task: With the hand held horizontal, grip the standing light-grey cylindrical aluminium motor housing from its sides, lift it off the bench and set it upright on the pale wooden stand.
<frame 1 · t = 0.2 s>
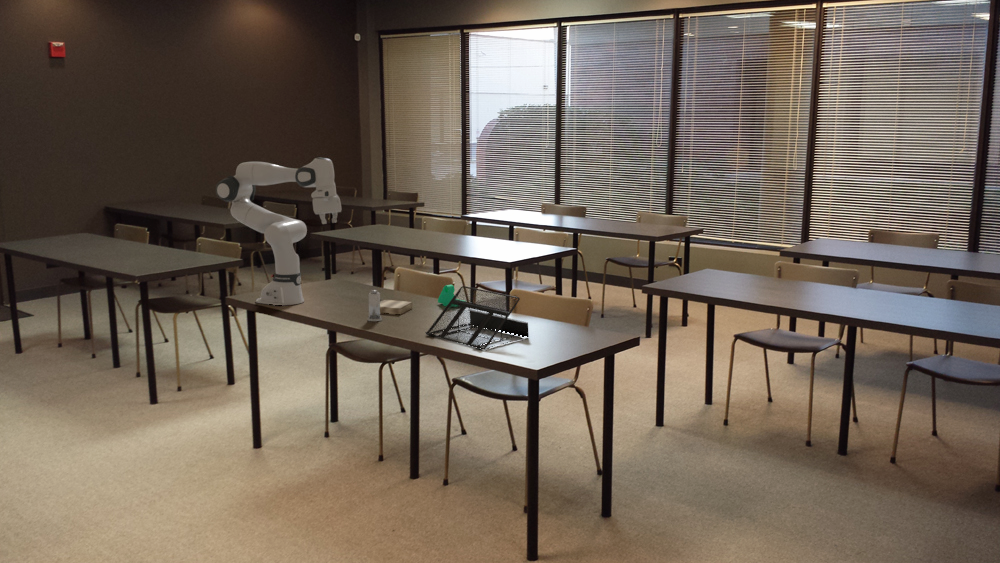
hand: (329, 223, 376), 39 cm above the table, tool pointing down, fingers open, 8 cm apart
rubber grommet: (377, 305, 387), on the table
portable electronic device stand: (476, 338, 333), on the table
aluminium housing: (374, 320, 358), on the table
green toy figure: (452, 306, 389), on the table
wooden stand: (392, 310, 377), on the table
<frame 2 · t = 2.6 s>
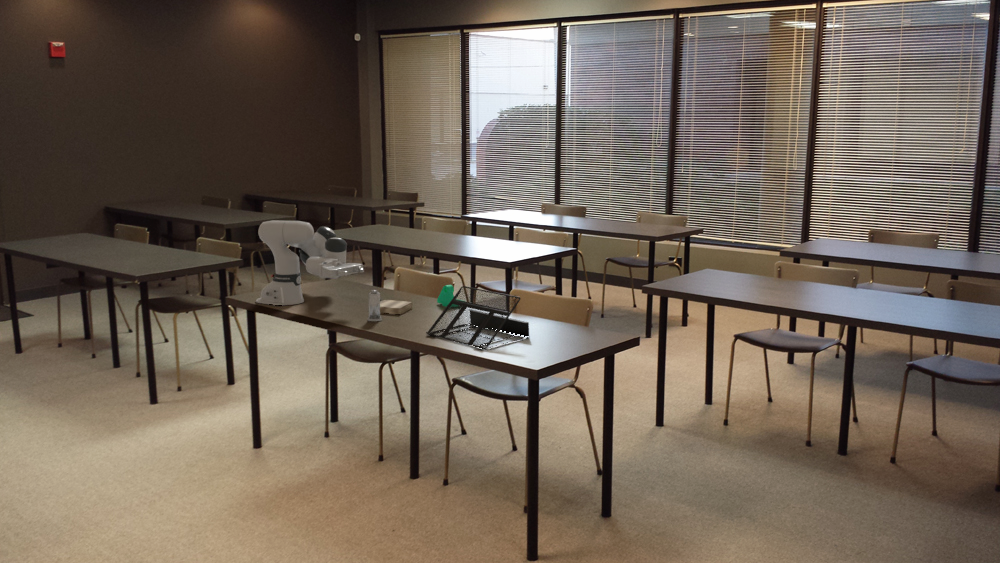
hand: (355, 272, 361), 20 cm above the table, tool horizontal, fingers open, 8 cm apart
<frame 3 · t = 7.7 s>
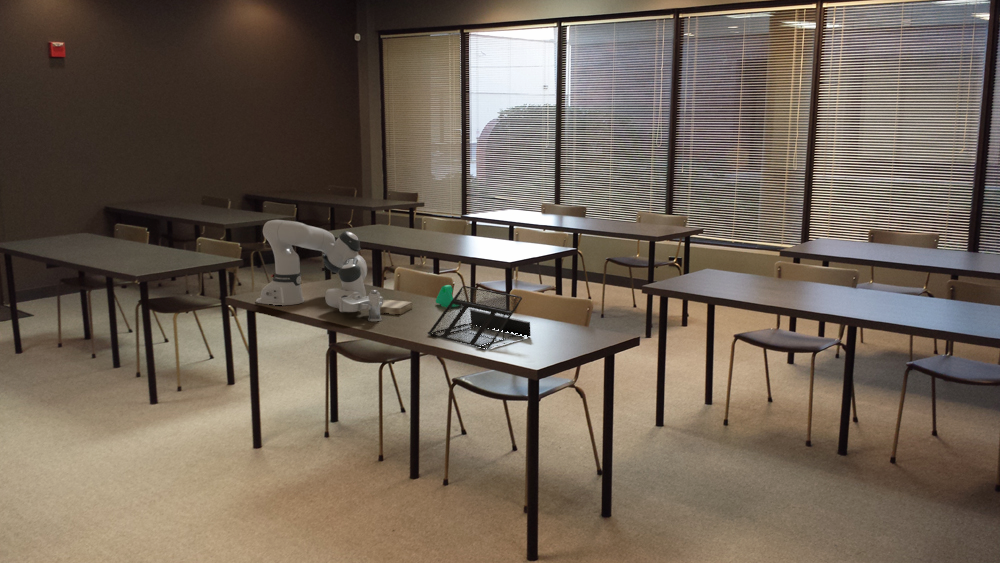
hand: (375, 305, 356), 7 cm above the table, tool horizontal, fingers closed on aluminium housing, 5 cm apart
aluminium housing: (374, 320, 358), on the table, touching gripper
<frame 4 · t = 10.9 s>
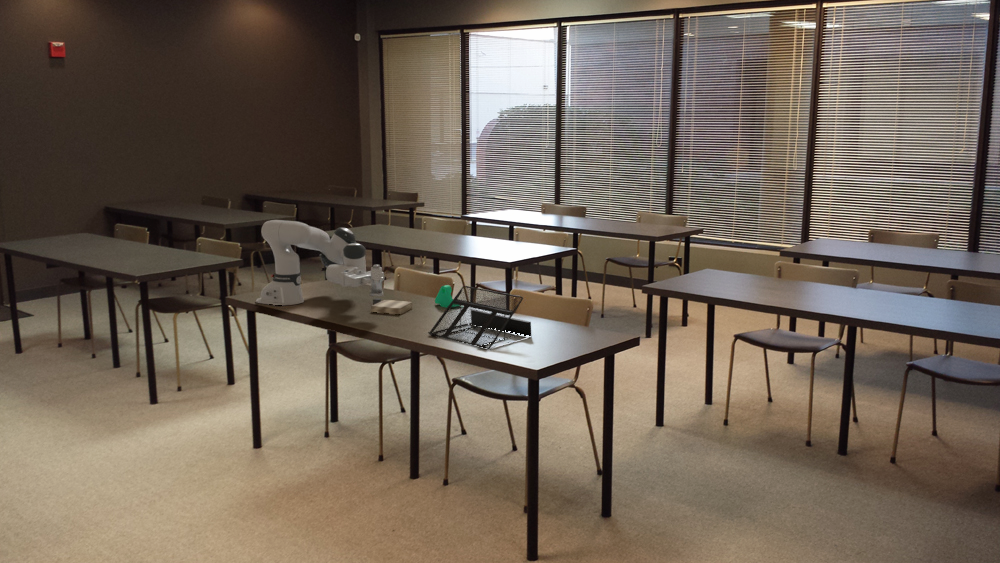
hand: (378, 280, 356), 17 cm above the table, tool horizontal, fingers closed on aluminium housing, 5 cm apart
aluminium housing: (376, 294, 358), point 11 cm above the table, touching gripper
when the fingers open (10 cm above the table, at t = 14.3 s): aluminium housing stays where it is, resting on wooden stand.
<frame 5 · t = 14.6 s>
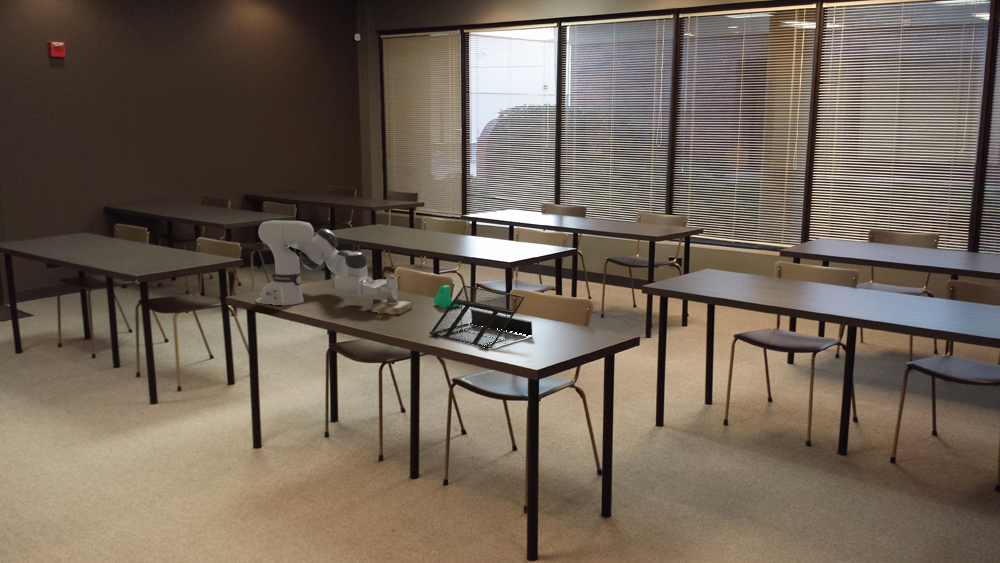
hand: (393, 288, 375), 10 cm above the table, tool horizontal, fingers open, 8 cm apart
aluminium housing: (392, 303, 376), point 3 cm above the table, touching wooden stand
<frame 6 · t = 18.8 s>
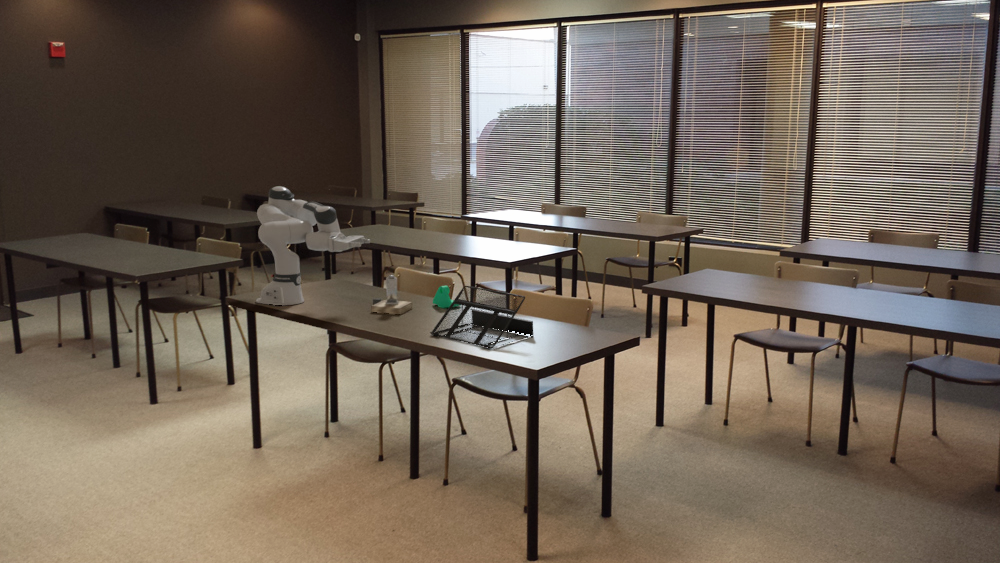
hand: (365, 243, 377), 30 cm above the table, tool horizontal, fingers open, 8 cm apart
at the end: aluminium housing inside the target area on the wooden stand (0.0 cm from its centre), point 3.0 cm above the wooden stand's base; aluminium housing tilted 1°; the gripper is holding nothing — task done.
